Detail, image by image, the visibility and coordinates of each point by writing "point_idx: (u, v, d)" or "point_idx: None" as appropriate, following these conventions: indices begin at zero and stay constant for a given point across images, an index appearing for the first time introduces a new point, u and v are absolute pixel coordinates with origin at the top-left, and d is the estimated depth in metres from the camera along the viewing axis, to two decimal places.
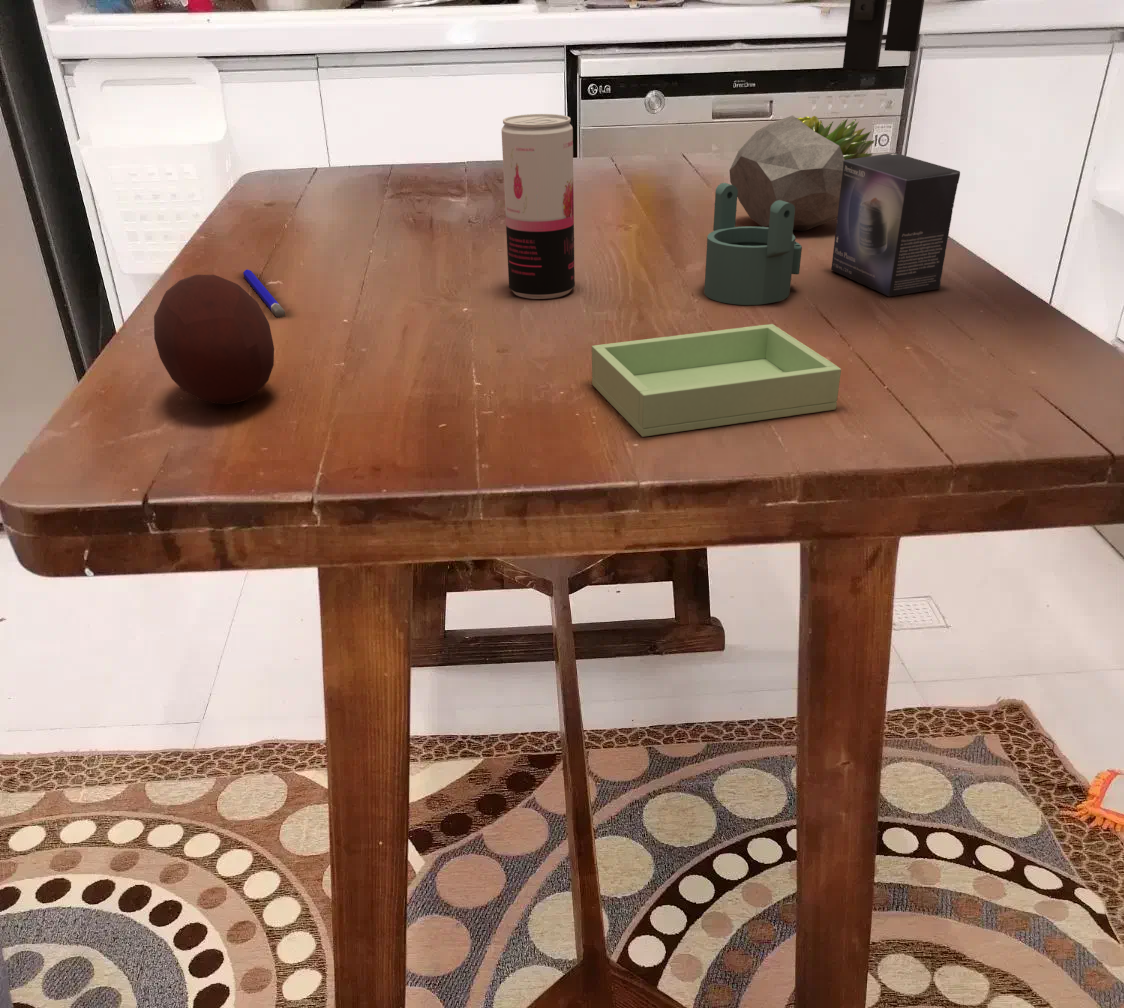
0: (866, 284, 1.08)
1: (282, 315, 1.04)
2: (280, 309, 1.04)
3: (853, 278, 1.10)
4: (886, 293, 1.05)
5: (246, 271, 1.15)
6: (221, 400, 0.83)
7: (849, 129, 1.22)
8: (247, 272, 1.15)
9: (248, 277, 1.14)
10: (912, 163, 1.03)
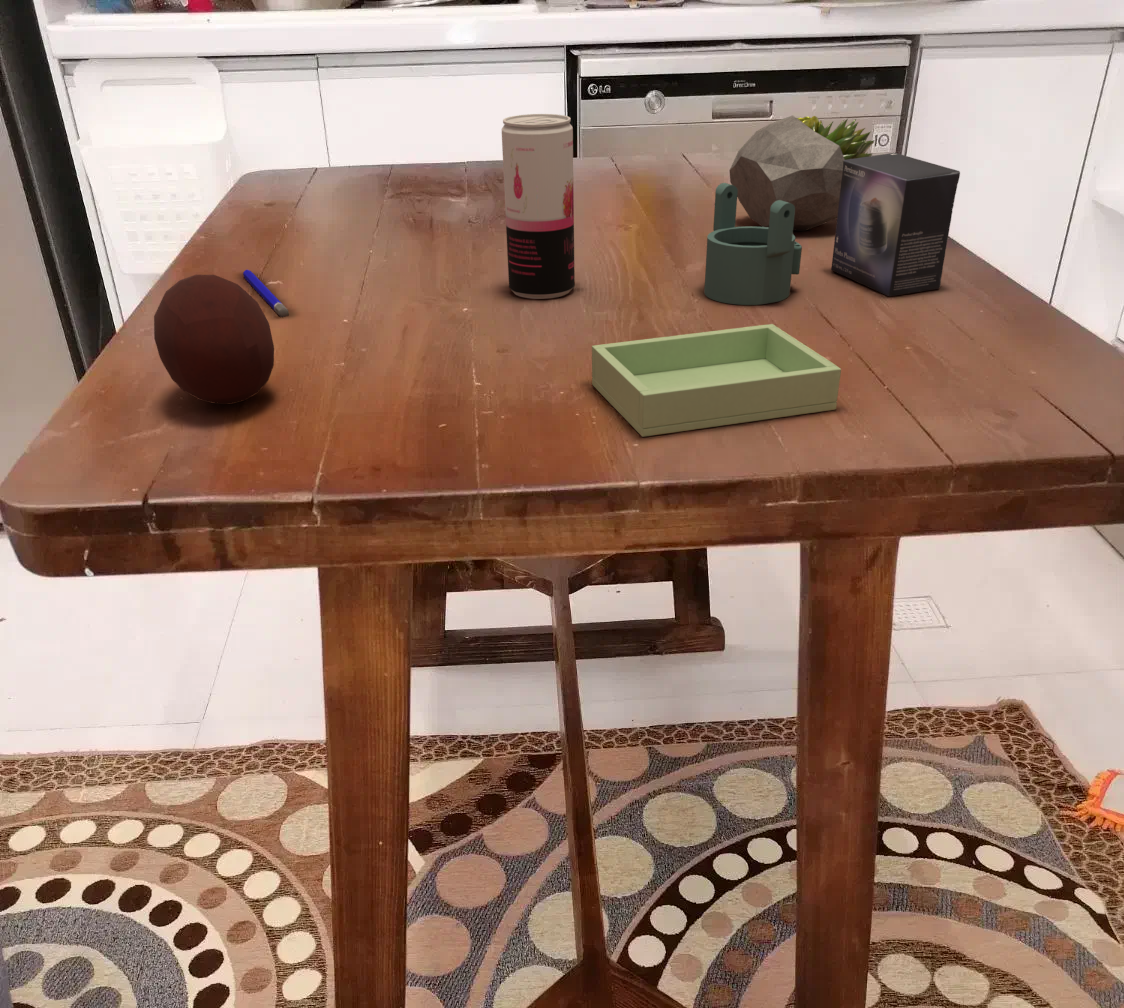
0: (866, 284, 1.08)
1: (286, 314, 1.04)
2: (284, 308, 1.04)
3: (853, 278, 1.10)
4: (886, 293, 1.05)
5: (246, 271, 1.15)
6: (221, 400, 0.83)
7: (849, 129, 1.22)
8: (247, 272, 1.15)
9: (248, 277, 1.14)
10: (912, 163, 1.03)
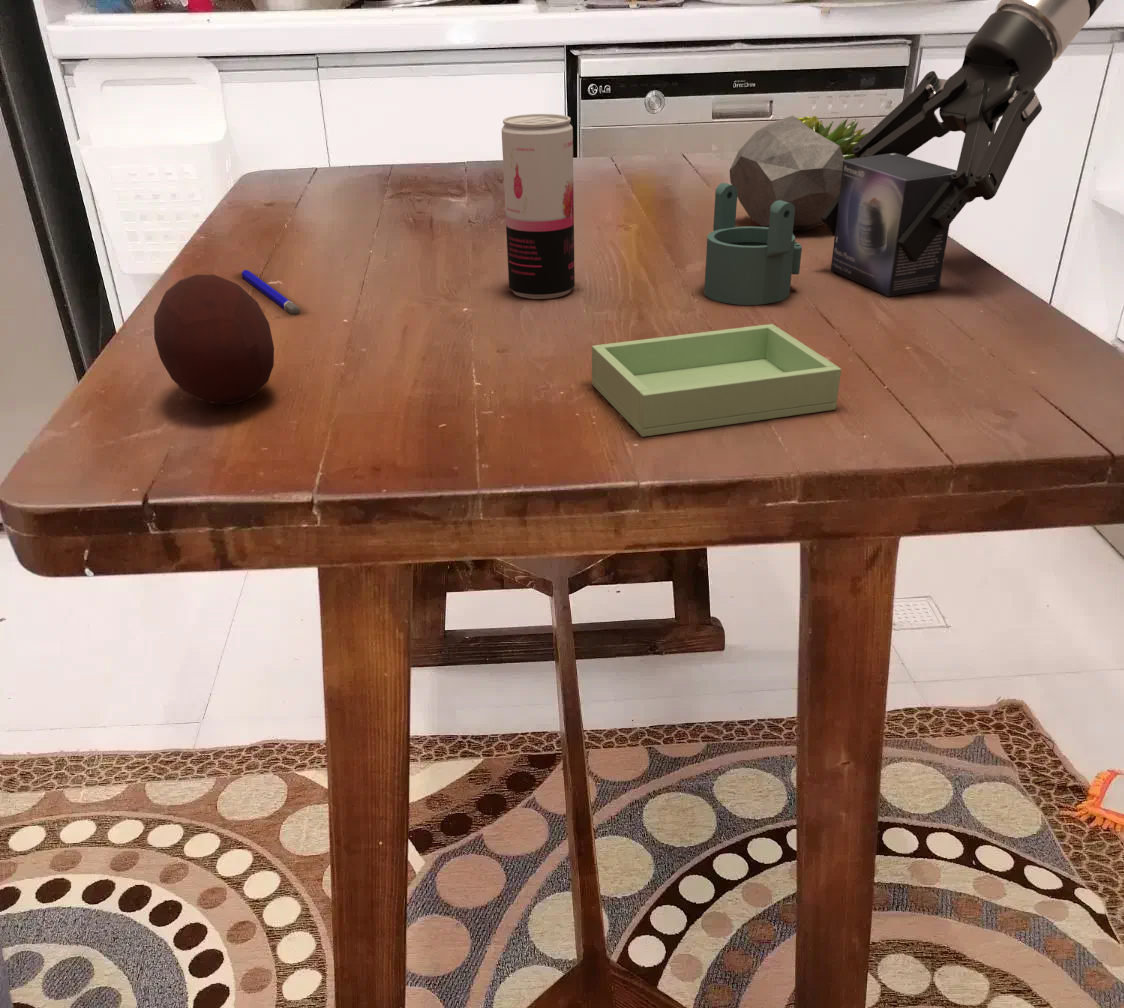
0: (866, 284, 1.08)
1: (297, 312, 1.05)
2: (295, 306, 1.05)
3: (853, 278, 1.10)
4: (885, 292, 1.05)
5: (245, 271, 1.15)
6: (221, 400, 0.83)
7: (849, 129, 1.22)
8: (246, 272, 1.15)
9: (249, 277, 1.14)
10: (911, 163, 1.03)
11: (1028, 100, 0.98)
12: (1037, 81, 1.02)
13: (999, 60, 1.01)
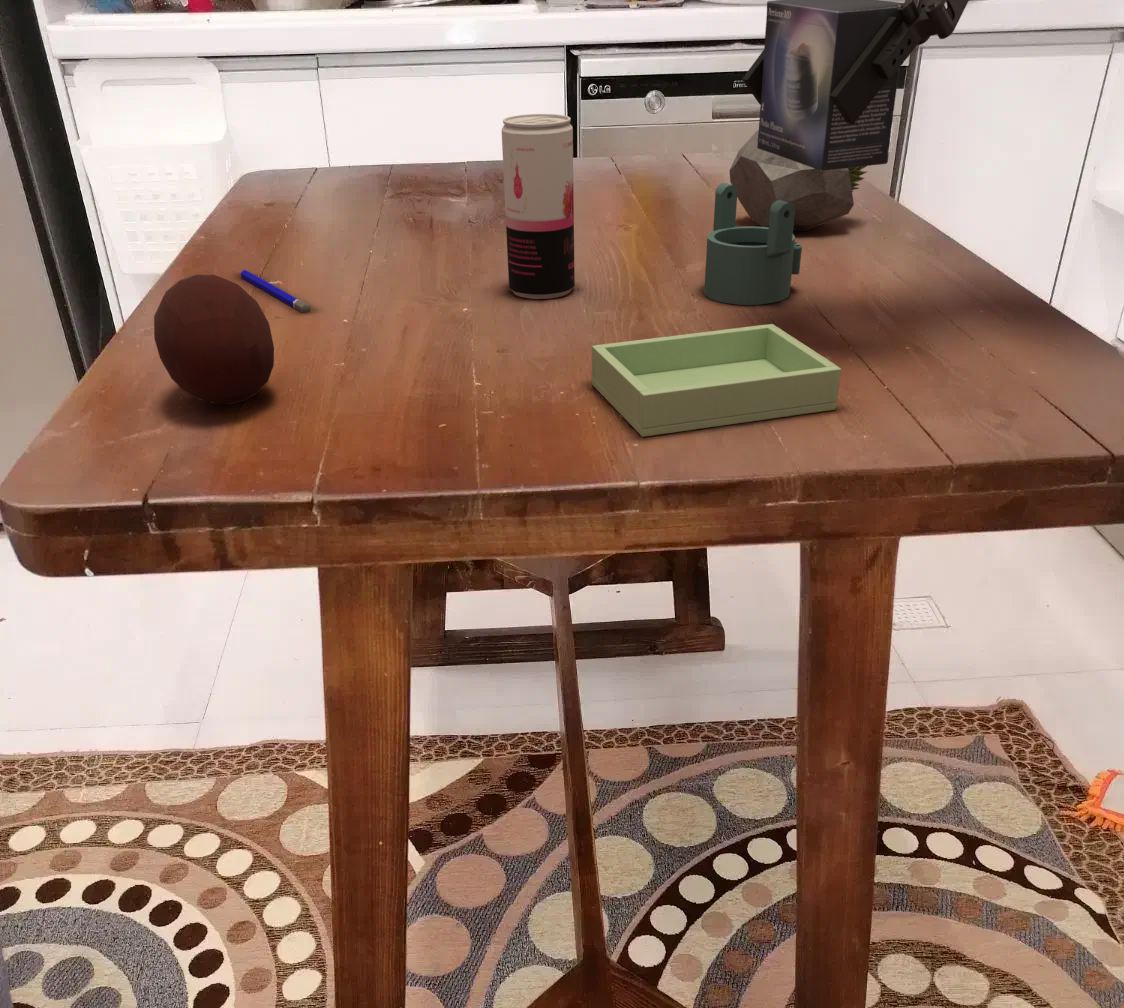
0: (796, 159, 0.86)
1: (308, 310, 1.05)
2: (306, 305, 1.05)
3: (781, 154, 0.88)
4: (818, 166, 0.84)
5: (244, 271, 1.15)
6: (221, 400, 0.83)
7: None
8: (246, 272, 1.15)
9: (250, 277, 1.14)
10: None
11: None
12: None
13: None
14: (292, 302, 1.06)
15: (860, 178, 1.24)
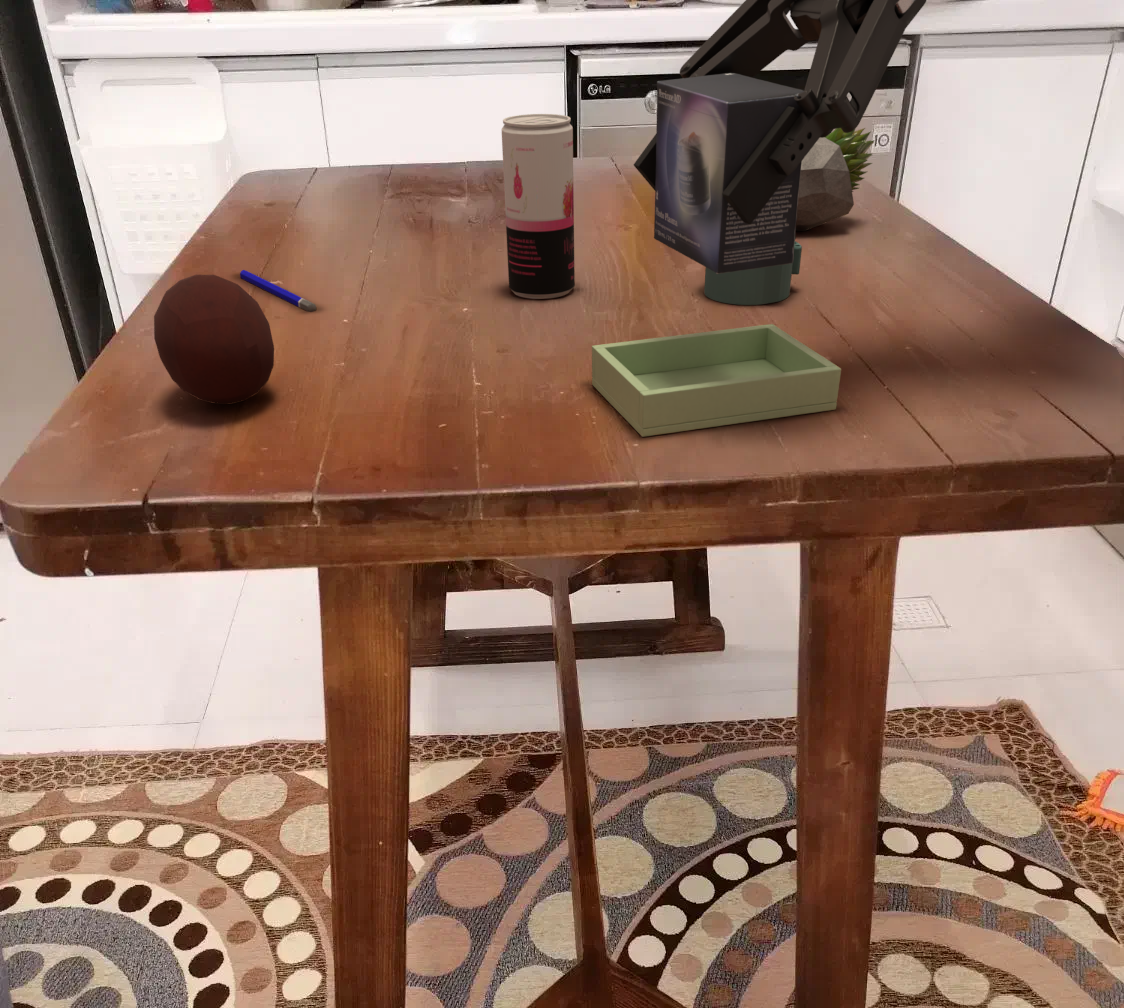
0: (692, 257, 0.77)
1: (314, 309, 1.06)
2: (312, 303, 1.05)
3: (677, 249, 0.79)
4: (714, 268, 0.75)
5: (244, 271, 1.15)
6: (221, 400, 0.83)
7: None
8: (246, 272, 1.15)
9: (250, 277, 1.14)
10: (747, 83, 0.73)
11: None
12: None
13: None
14: (297, 301, 1.07)
15: (860, 178, 1.24)
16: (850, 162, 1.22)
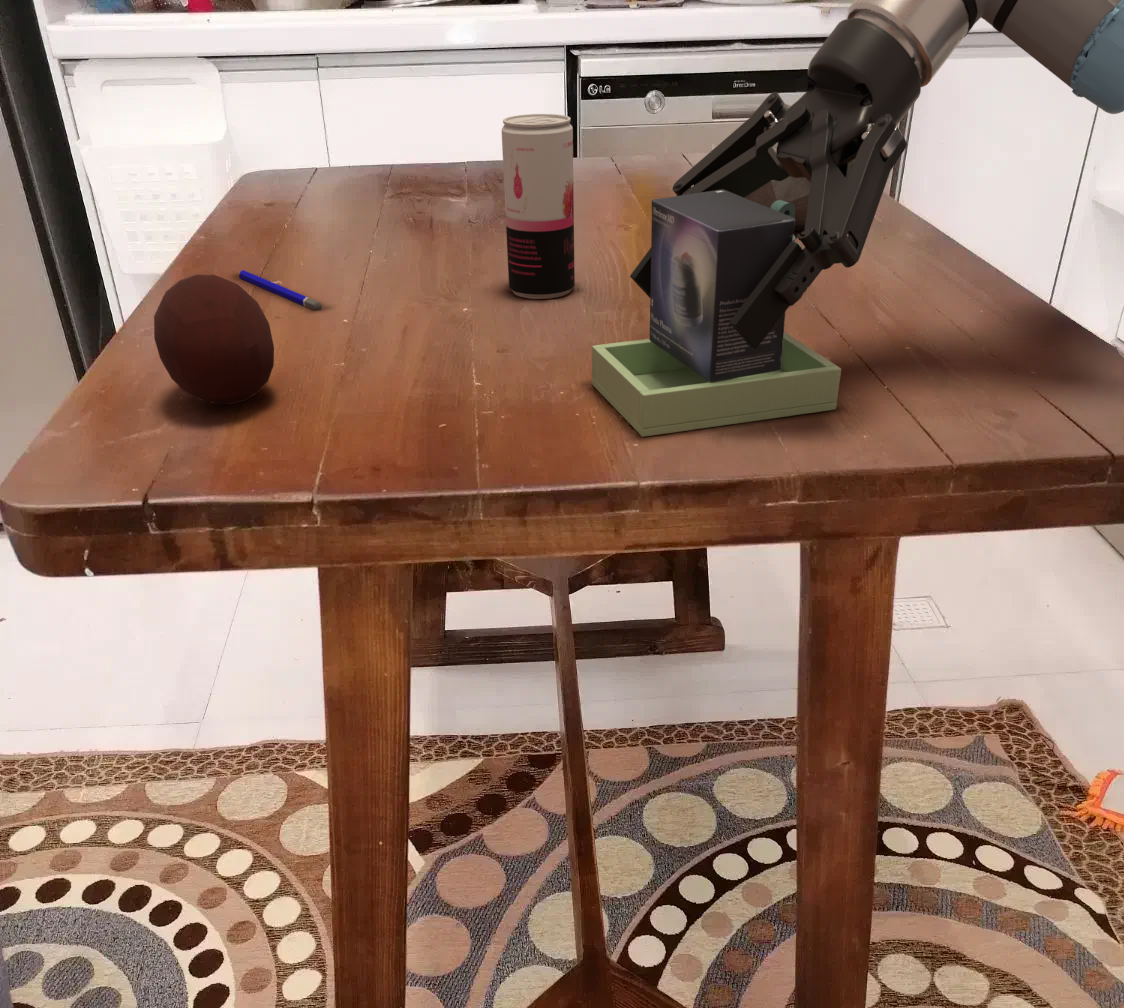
0: (685, 363, 0.81)
1: (319, 308, 1.06)
2: (317, 302, 1.06)
3: (672, 354, 0.83)
4: (706, 377, 0.79)
5: (243, 271, 1.15)
6: (221, 400, 0.83)
7: None
8: (245, 272, 1.15)
9: (250, 277, 1.14)
10: (736, 205, 0.77)
11: (887, 133, 0.72)
12: (901, 112, 0.76)
13: (847, 85, 0.75)
14: (302, 300, 1.07)
15: None
16: None
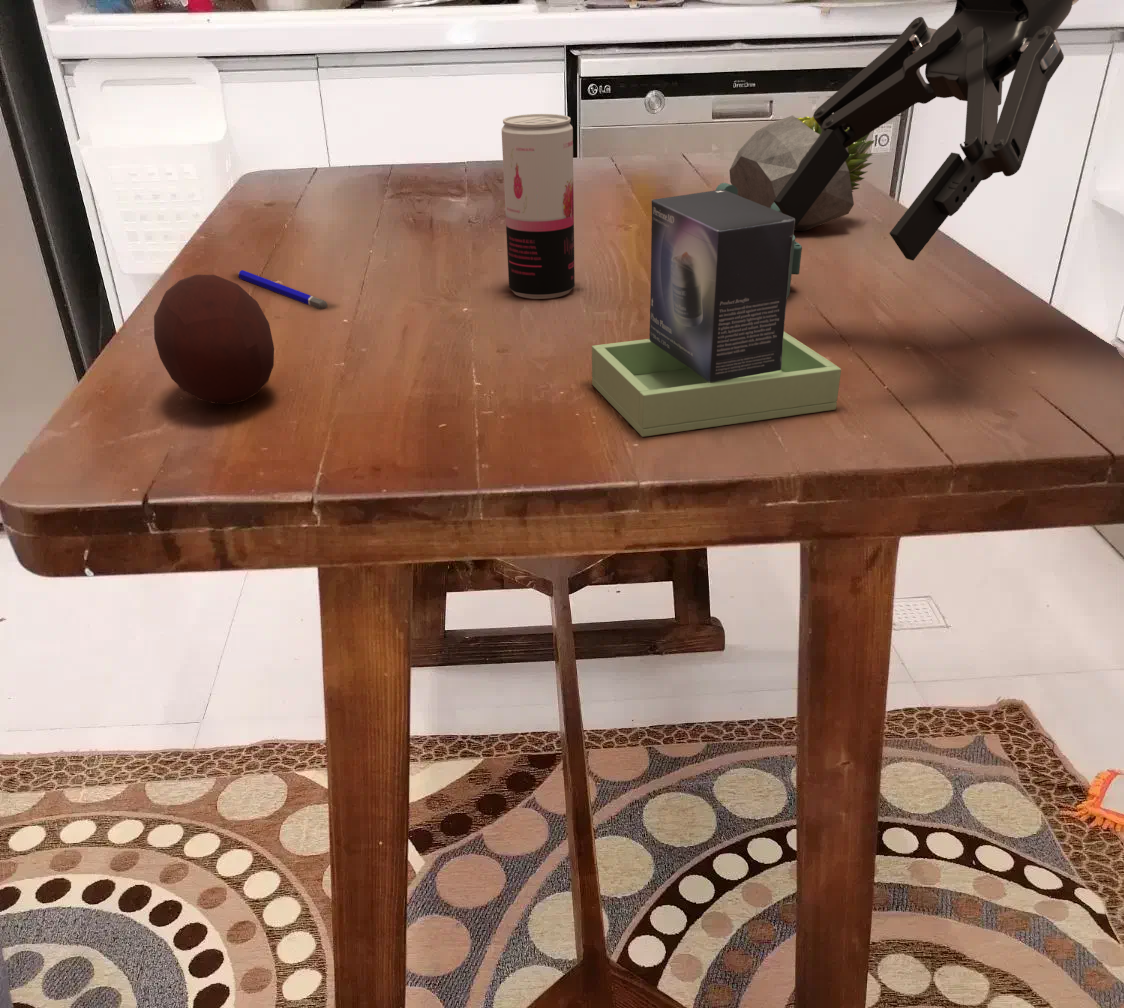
0: (685, 363, 0.81)
1: (325, 307, 1.06)
2: (323, 301, 1.06)
3: (672, 354, 0.83)
4: (706, 377, 0.79)
5: (243, 271, 1.15)
6: (221, 400, 0.83)
7: None
8: (245, 272, 1.15)
9: (250, 277, 1.14)
10: (736, 205, 0.77)
11: (1047, 44, 0.74)
12: (1052, 29, 0.78)
13: (1002, 2, 0.77)
14: (307, 299, 1.07)
15: (860, 178, 1.24)
16: (850, 162, 1.22)
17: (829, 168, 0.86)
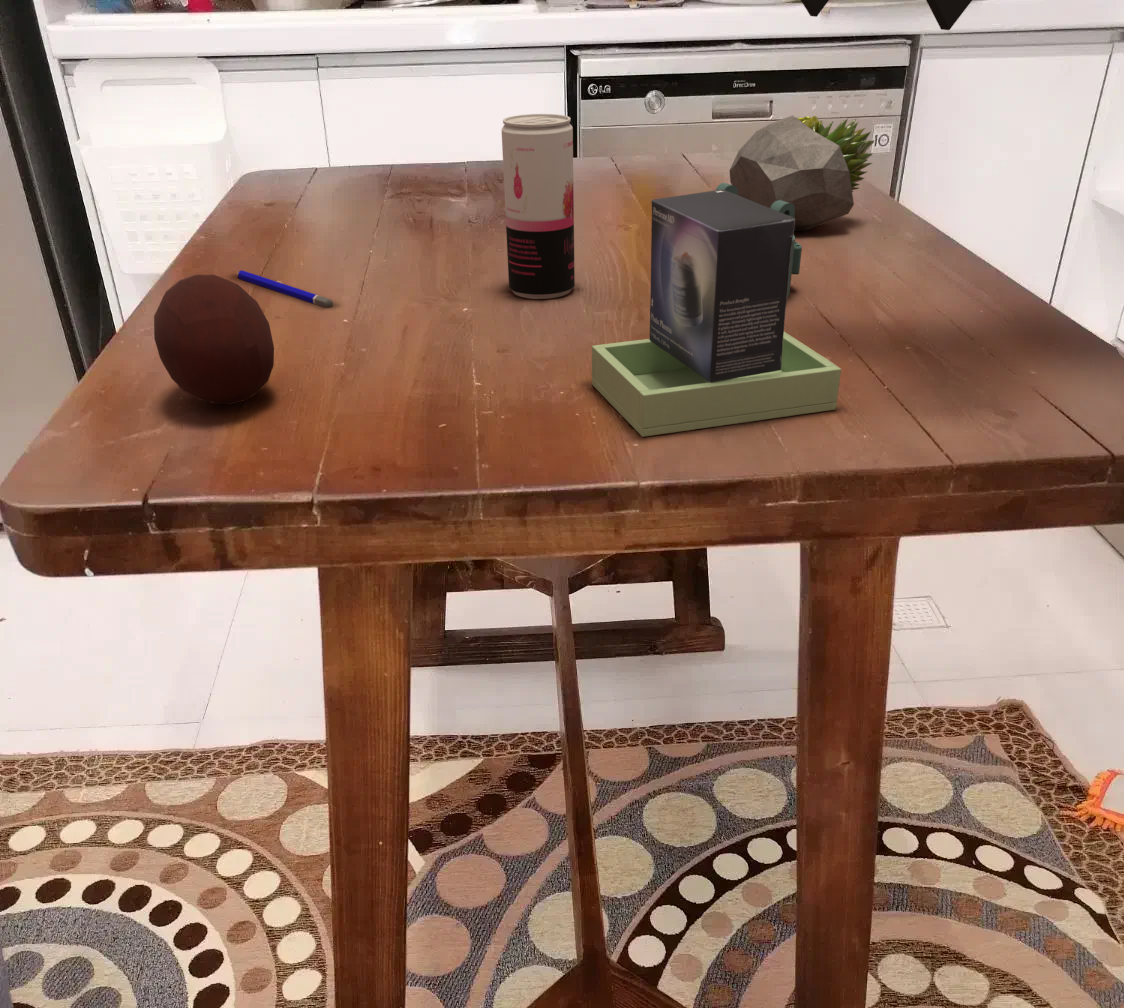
0: (685, 363, 0.81)
1: (331, 305, 1.07)
2: (329, 299, 1.06)
3: (672, 354, 0.83)
4: (706, 377, 0.79)
5: (242, 272, 1.15)
6: (221, 400, 0.83)
7: (849, 129, 1.22)
8: (245, 272, 1.15)
9: (251, 276, 1.14)
10: (736, 205, 0.77)
11: None
12: None
13: None
14: (312, 298, 1.07)
15: (860, 178, 1.24)
16: (850, 162, 1.22)
17: None
